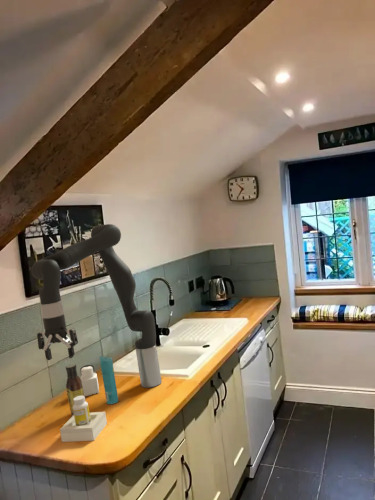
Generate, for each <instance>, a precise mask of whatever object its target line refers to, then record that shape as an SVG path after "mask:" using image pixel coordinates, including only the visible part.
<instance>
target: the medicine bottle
mask: <svg viewBox="0 0 375 500" xmlns="http://www.w3.org/2000/svg"><path fill="white" fill-rule="evenodd" d="M79 370H80V371H79V372H80V379H81V381H82V386H83V392H84V396H85V397H88V396H92V394H93V395H96V393H97V394H100V388H99V386H100V385H99V380H98V375H97V373H96V372H95V366H94V365H93V364H86V365H83V366H81V367H80V369H79Z"/></svg>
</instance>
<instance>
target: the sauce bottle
mask: <svg viewBox="0 0 375 500" xmlns="http://www.w3.org/2000/svg"><path fill="white" fill-rule="evenodd" d="M65 370H66V374H67V375H66V376H67V379H66V384H65V388H66V394H67V399H68V400H67V402H68V406H69V411H70V414H71V415H72V416H73V415H74V412H73V405H74V401H73V399H74V398H75V397H77V396H84V392H83V386H82V381H81V377H80V376H78V372H77V364H76V363H70V364H67V365H66V366H65Z"/></svg>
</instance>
